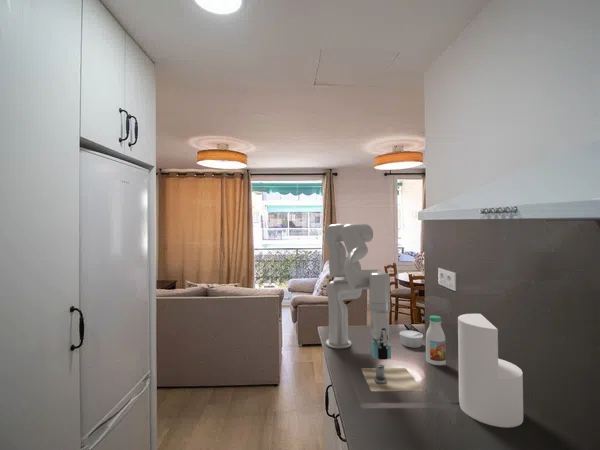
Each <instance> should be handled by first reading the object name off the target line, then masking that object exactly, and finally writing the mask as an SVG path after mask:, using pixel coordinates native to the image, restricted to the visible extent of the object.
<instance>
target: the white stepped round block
mask: <svg viewBox="0 0 600 450" xmlns="http://www.w3.org/2000/svg"><path fill="white" fill-rule="evenodd" d="M498 333H499V329H498V328H497V327H496V326H495V325H494V324H492V323H491V321H489V320H488V319H487V318H486V317H485V316H484V315H483V314H482V313H465V314H461V315H459V316H457V335H458V336H457V339H458V341H457V343H458V344H457V345H458V349H457V350H458V352H457V354H458V356H457V357H458V359H457V360H458V404H459V408H460V409H461V411H462V412H463V413H465V414H466V415H467V416H468V417H470V418H472V419H474V420H475V421H478V422H480V423H482V424H486V425H489V426H492V427H498V428H515V427H516V428H517V427H518V426H520V425H522V423H523V422H524V387H523V386H524V383H523V382H524V381H523V380H524V379H523V377H524V376H523V371H522V369H521V368H520V367H518V365H516V364H514V363H512V362H510V361H507V360H504V359H501V358H499V335H498Z"/></svg>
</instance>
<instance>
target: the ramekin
mask: <svg viewBox="0 0 600 450" xmlns="http://www.w3.org/2000/svg"><path fill="white" fill-rule="evenodd" d="M399 337H400V343H401V344H402V346H404V347H407V348H413V349H417V348H421V346H422V345H423V339H424V335H423V333H421V332H419V331H415V330H406V329H405V330H401V331H400V332H399Z"/></svg>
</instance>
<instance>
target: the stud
mask: <svg viewBox="0 0 600 450" xmlns="http://www.w3.org/2000/svg"><path fill="white" fill-rule="evenodd" d="M375 368H376V376H375V377H374V382H375V383H377V384H386V382H387V379H386V378H385V372H384V368H385V365H383V364H375Z"/></svg>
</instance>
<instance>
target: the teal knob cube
mask: <svg viewBox="0 0 600 450" xmlns="http://www.w3.org/2000/svg"><path fill="white" fill-rule="evenodd" d="M382 342H383V341H381V343H382ZM369 343H370V344H369V345H370V346H369V347H370V354H371V356H372V358H373V359H374V360H379V359H378V348H379V342H378V340H374V339H373V340H371V339H370V341H369ZM387 356H388V359H389V360H391V359H392V345H391V344H390V343H389V342H388V343H387ZM388 359H387V360H388Z"/></svg>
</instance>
